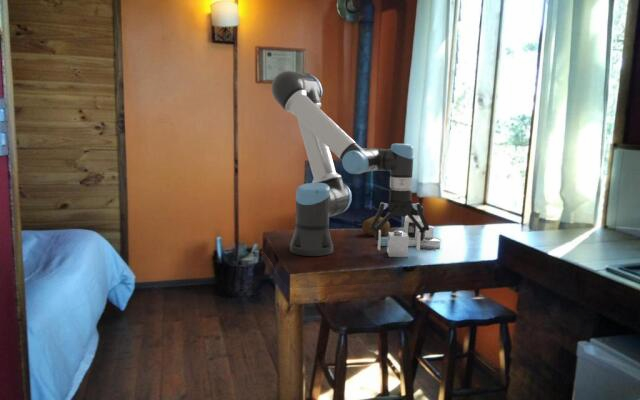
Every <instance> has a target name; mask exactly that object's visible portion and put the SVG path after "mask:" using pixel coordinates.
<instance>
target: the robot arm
mask: <svg viewBox="0 0 640 400" xmlns="http://www.w3.org/2000/svg"><path fill="white" fill-rule="evenodd" d="M271 93H272V97H273V98H274V101H276V102H277V104H279V106H280V107H281V108H283V110H284V111H286V112H287V113H291V114H292V115H293V116H295V117H296V119H297V123H298V126H299V130H300V134H301V137H302V142H303V146H304V148H305V152H306V155H307V156H306V157H307V160H308V162H309V166H310V170H311V174H312V177H313V179H312V182H310V183H309V182H307V183H304V184H301V185H299V186H298V187H297V188H296V192H295V193H296V194H295V229H294V232H293V234H292V235H293V236H292V238H291V241H290V243H289V246H290V247H289V251H290V253H293V254H295V255H299V256H304V257H305V256H307V257H318V256H319V257H320V256H321V257H323V256H327V255H330V254H332V253H333V252H334V244H333V240H332V237H331V234H330V229H329V227H330V226H329V225H330V217H331V218H332V217H334V216H338V215H341V214H343V213H344V212H346V211H347V210H348V209H349V207H350V205H351V203H352V199H353V198H352V196H353V195H352V191H351V190H350V187H349V186H348V185H346V184H345V183H344V182H343V181H344V180H343V177H342V175H341V174H339V173H338V172H336V168H335V163H334V161H333V157H332V153H333V154H334V155H335V156H336V157H337V158H338V159H339V160H340V161H341V164H342V167H343V169H344V171H346V172H347V173H348V174H352V175H360V174H363V173H367V172H368V173H369V172H372V171H382V172H383V171H385V172H386V171H387V172H389V173H390V175H389V188H390V189H389V196H388V197H389V198H388V199H389V201H388V203H385V202H383V201H381V202H380V203H379V208H378V209H377V212H376V214H375V217H374V216H373V217H374V219H373V221H372V223H371V225H370V228H371V229H373V230H375V235H374V240H375V241H377V250H378V251H381V247H382V246H381V237H382V235H381V231H380V229H381V228H382V226H383V225H384V224H385V223H386V222H387V221H388V222H389V220H390V219H391V218H392V217H393V216H395V217H406V216H407V215H408V216H409V217H410V219H411V220H412V221H413V222H414V224H415V225H416V226H417V227H418V229H419V230H420V231H417V247H416V246H415V247H416V250H417V252H420V251H421V248H420V241H423V237H424V231H426V230H429V226H430V225H428V221H427V219H426V218H425V216H424V214H423V213H422V211H421V206H422V205H421V203H420V202H416V203H412V202H413V201H412V196H413V193H412V192H413V191H412V188H413V170H414V169H413V167H414V159H415V157H414V147H413V145H412V144H411V143H392V144H391V146H390V148H387V149H386V148H372V147H366V148H365V147H363V148H362V147H361V146H360V145H359V144H358V143H357V142H356V141H355V140H354V139H353V138H351V136H350V135H348V134H347V133H346V132H345V130H343V129H342V128H341V127H340V126H339V125H338V124H337V123H336V122H335V121H334V120H333V119H332V118H330V117H329V116H328V115H327V114H326V113H325V111H323V110H322V108H321V107H322V102H321V99H322V96H323V87H322V84H321V82H320V80H319V79H318V78H317V77H316V76H314V75H312V74H310V73H306V72H297V71H293V70H291V71H290V70H286V71H282V72H279V73H278V74H277V75H275V76H274V79H273V80H272V83H271ZM413 207H414V209H415V210H417V212H418V214H419V217H420V219H421V221H422V223H423V225H424V227H421V225H420V224H419V223H418V222H417V220H416V219H415V218H414V217H413V216H412V214H411V213H410V210H411V209H412V208H413ZM387 208H388V210H389V211H388V212H387V213H386V215H385V216H384V217H382V214H383V212H384V210H386V209H387ZM380 217H382V218H383V219H382V220H381V221H380V223H379V224H378V225H377V226H375V225H376V223H377V221H378V220H379V218H380Z"/></svg>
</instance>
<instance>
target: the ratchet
mask: <svg viewBox="0 0 640 400" xmlns="http://www.w3.org/2000/svg"><path fill="white" fill-rule="evenodd" d="M428 226H429V230H426V231H424V237H423V241H420V249H422V250H438V249H440V248H441V238H440V237H438V236H434V229H435V227H434V226H433V225H428ZM387 242H388V236H381V247H387ZM408 247H417V237H416V239H409V243H408Z"/></svg>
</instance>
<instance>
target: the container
mask: <svg viewBox="0 0 640 400" xmlns="http://www.w3.org/2000/svg"><path fill="white" fill-rule="evenodd" d="M421 211H422V213H423V215H424V211H425V207H424V206H423V205H421ZM410 213H411V214H412V216H413V217H414V218H415V219H416V220H417V222H418V223H419V224H420V225H421V227H424V225H423V223H422V221H421V219H420V217H419V214H418V212H417V210H415V209H414V207H413V208H412V209H411V210H410ZM403 225H404V226H403V232H406V233H407V235H408V236H409V239H416V237H417V231H420V230H419V229H418V227H417V226H416V225H415V224H414V222H413V221H412V220H411V219H410V217H409V216H408V215H406V216H404V224H403Z"/></svg>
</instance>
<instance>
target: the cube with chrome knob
mask: <svg viewBox="0 0 640 400" xmlns="http://www.w3.org/2000/svg"><path fill="white" fill-rule="evenodd" d="M387 237H388V242H387V246H386V252H387V255H388V257H390V258H391V257H392V258H393V257H395V258H409V257H408V256H409V246H408V243H409V236H408V235H407V233H406V232H404V230H398V229H397V230H393V231H387Z"/></svg>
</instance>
